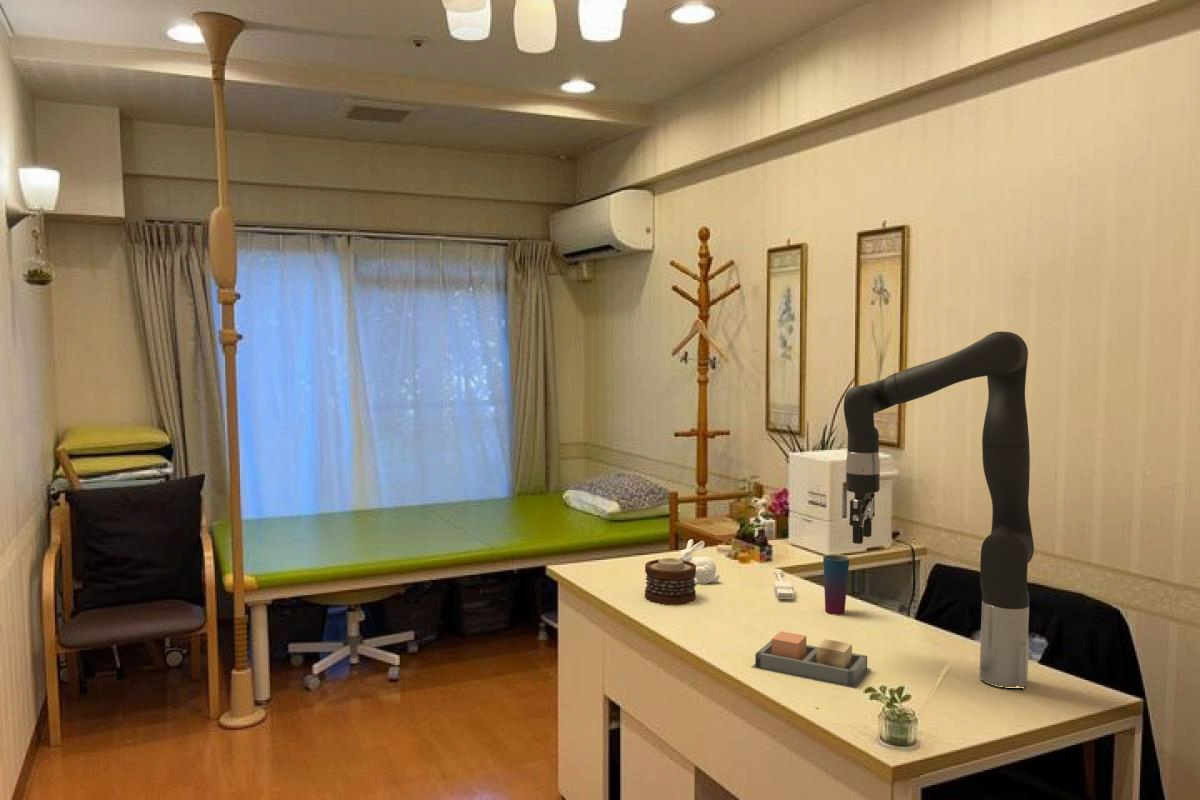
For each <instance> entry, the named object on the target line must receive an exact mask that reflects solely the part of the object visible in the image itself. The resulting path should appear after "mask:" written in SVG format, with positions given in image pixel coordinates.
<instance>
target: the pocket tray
mask: <svg viewBox="0 0 1200 800" xmlns="http://www.w3.org/2000/svg"><path fill="white" fill-rule="evenodd" d="M771 649H772V639H771V640H770V641H769V642H767V643H766V644H765V645H764V646H762V647H761V648H760V649H759V650H757V652H755V661H754V664H753V665H751V668H753V669H757V670H762V671H767V672H773V673H778V674H782V675H786V676H787V675H788V676H792V677H796V678H801V679H808V680H812V681H816V682H821V683H826V684H832V685H836V686H842V687H845V688H846V687H847V688H851V689H856V688H857V687H858V686H859V685H860V684H861V682H862V681H863V680H864V679H865V677H866V676H867V675H868V674H869V672H871V670H872V668H869V667H868V655H865V654H858V653H853V652H852V667H851V668H850V669H845V668H839V667H834V666H829V665H824V664H819V663H817V646H815V645H809V644H806V657H805V658H804V659H803V660H798V659H793V658H787V657H782V656H777V655H772V654H771Z"/></svg>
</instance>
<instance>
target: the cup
mask: <svg viewBox="0 0 1200 800" xmlns="http://www.w3.org/2000/svg"><path fill="white" fill-rule="evenodd" d="M822 559H823V561H822V562H823V583H824V584H823V585H824V589H823V590H824V609H825V610H824V611H825V613H826V612H827V613H826V614H828V613H829V615H832V614H838V615H837V616H842V615H844V614H846V613H845V611H846V603H847V602H846V598H847V590H848V589H847V588H848V578H849V566H850V557H849V556H847V555H843V554H825V555H823V557H822ZM841 614H842V615H841Z"/></svg>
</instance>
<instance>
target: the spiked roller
mask: <svg viewBox="0 0 1200 800" xmlns="http://www.w3.org/2000/svg"><path fill="white" fill-rule="evenodd" d="M644 573H645V575H646V576H645V578H644V579H645V580H646V582H645V585H646V586H645V590H644V598H645V599H646V601H648V600H649V601H648V602H650V601H651V602H650V603H653V602H654V604H657V603H659V604H658V605H663V604H664V606H665V605H666V606H682V605H681V604H683V605H686V604H687V603H688V604H691V603H690V602H692V603H693V602H695V601H696V589H695V588H696V587H697V584H695V580H694V579H693V578H695V577H696V575H695V574H696V565H695V564H694V563H691V562H689V561H684V560H679V558H675V557H666V558H661V559H660V558H659V559H654V560H653V559H652V560H648V561H647V562H646V563H645V566H644ZM694 600H695V601H694Z"/></svg>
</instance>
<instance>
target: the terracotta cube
mask: <svg viewBox="0 0 1200 800" xmlns="http://www.w3.org/2000/svg"><path fill="white" fill-rule="evenodd" d="M771 640H772V649H771V654H772V655H777V656H782V657H787V658H793V659H798V660H803V659H804V658H805V657H806V645H807V635H805V634H804V635H803V634H798V633H792V632H787V631H779V632H778V633H777V634H776V635H774V636H773V637H772V638H771Z"/></svg>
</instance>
